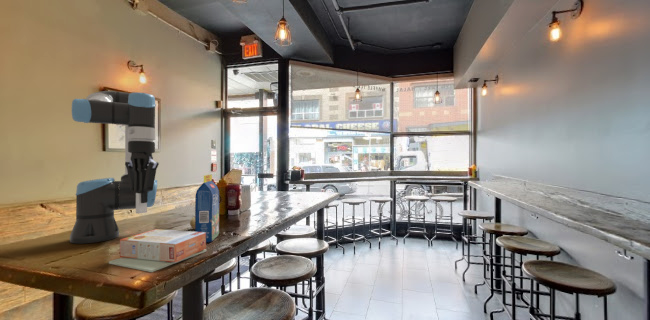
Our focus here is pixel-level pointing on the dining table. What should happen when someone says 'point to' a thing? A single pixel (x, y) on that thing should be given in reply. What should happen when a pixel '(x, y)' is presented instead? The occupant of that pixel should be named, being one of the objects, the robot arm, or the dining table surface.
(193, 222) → the onion
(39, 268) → the dining table surface
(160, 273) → the dining table surface
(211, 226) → the blue food package
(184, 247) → the cracker box
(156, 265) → the mat
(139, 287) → the dining table surface
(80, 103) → the robot arm
